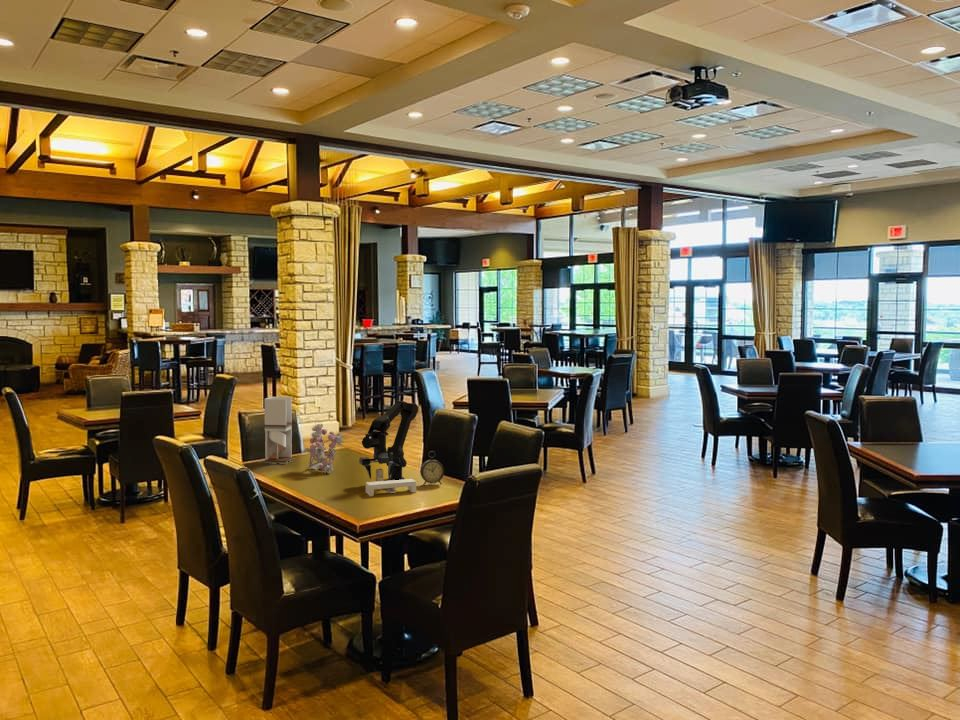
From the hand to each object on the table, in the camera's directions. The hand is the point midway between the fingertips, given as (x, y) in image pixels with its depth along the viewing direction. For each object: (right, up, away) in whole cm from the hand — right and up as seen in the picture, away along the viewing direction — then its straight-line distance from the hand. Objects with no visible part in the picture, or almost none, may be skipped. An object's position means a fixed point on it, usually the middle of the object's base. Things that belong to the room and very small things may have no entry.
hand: (379, 477), depth 356 cm
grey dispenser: (-61, +1, +47) cm, 77 cm away
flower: (-32, -1, +25) cm, 41 cm away
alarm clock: (+25, -4, 0) cm, 25 cm away
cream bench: (+7, -4, -17) cm, 19 cm away
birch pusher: (+2, -3, -5) cm, 6 cm away
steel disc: (+7, -4, -17) cm, 19 cm away
